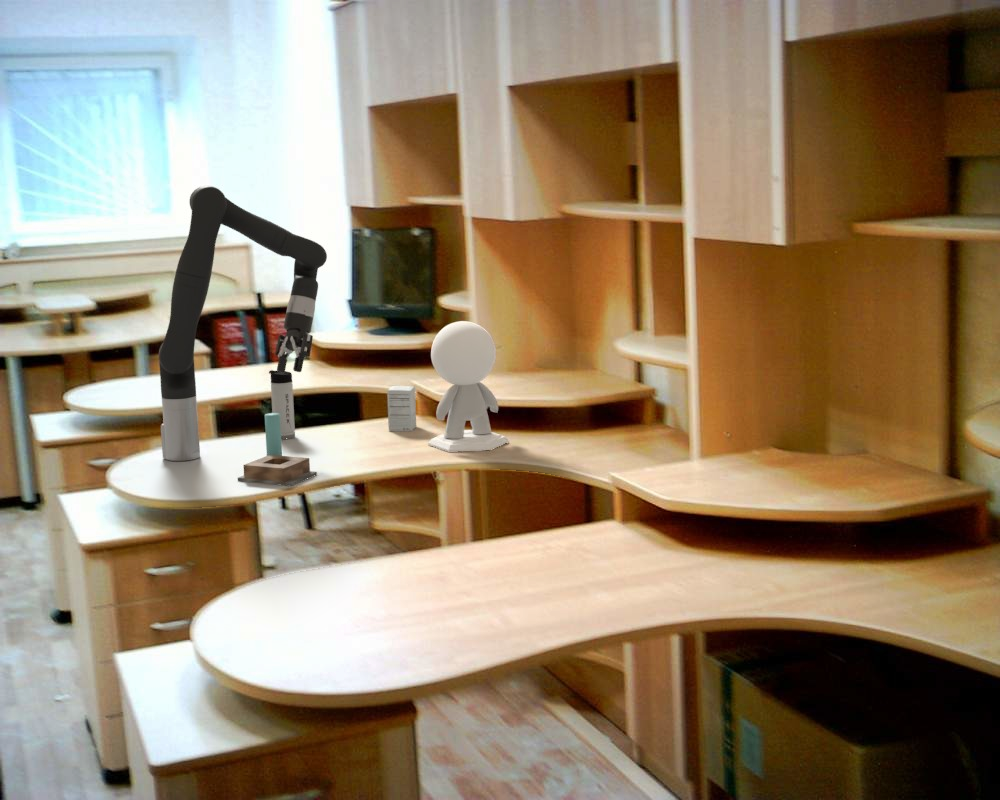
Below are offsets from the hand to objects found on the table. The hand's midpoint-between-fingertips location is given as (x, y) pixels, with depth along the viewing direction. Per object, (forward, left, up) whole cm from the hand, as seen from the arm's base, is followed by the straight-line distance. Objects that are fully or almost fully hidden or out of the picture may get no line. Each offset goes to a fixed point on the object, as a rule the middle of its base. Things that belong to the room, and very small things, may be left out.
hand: (288, 371), depth 344 cm
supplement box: (+13, +40, -23) cm, 48 cm away
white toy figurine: (+41, +27, -23) cm, 55 cm away
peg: (+3, -14, -23) cm, 27 cm away
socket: (+11, -25, -23) cm, 36 cm away
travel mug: (-15, +18, -23) cm, 33 cm away
